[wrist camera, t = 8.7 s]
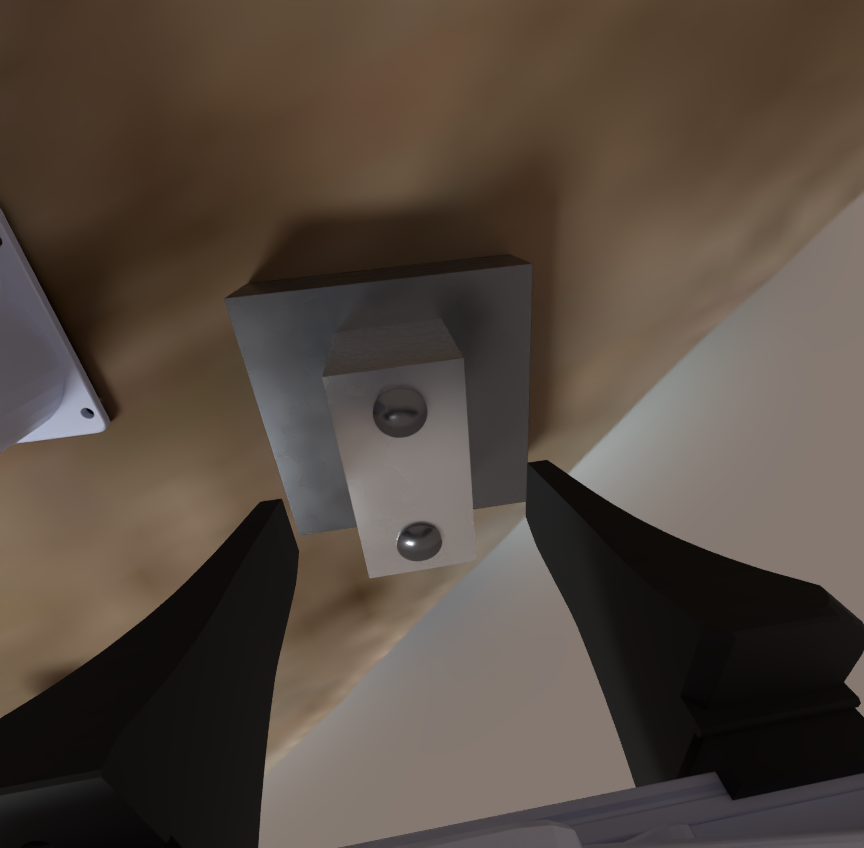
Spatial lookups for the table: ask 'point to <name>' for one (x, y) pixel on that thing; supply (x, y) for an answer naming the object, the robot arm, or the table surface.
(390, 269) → the stand
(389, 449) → the block
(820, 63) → the table surface
